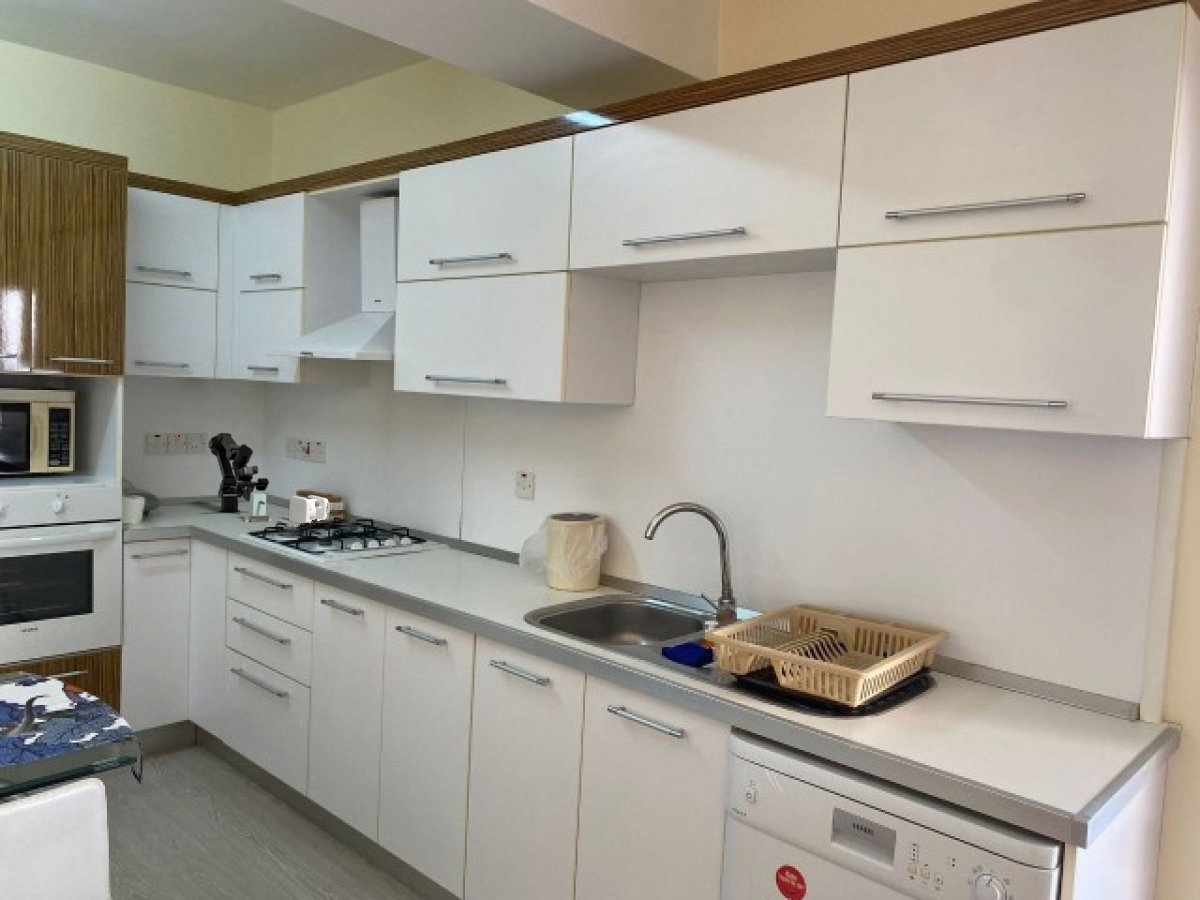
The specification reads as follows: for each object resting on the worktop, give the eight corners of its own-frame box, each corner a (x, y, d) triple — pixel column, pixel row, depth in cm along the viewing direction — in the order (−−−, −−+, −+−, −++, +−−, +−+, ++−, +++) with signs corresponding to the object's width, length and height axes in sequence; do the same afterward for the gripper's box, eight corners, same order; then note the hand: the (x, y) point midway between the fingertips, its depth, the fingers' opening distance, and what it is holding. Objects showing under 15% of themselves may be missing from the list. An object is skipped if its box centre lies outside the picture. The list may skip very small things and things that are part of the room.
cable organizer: (287, 523, 364) (288, 495, 363) (310, 521, 372) (311, 494, 371) (305, 528, 354) (306, 499, 353) (329, 526, 362) (330, 498, 361)
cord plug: (248, 520, 357) (249, 493, 357) (263, 519, 361) (264, 493, 360) (255, 523, 350) (256, 496, 350) (270, 522, 354) (271, 495, 353)
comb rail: (232, 520, 363) (233, 511, 363) (262, 518, 371) (262, 510, 370) (245, 525, 351) (245, 517, 350) (275, 524, 358) (276, 515, 358)
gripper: (222, 459, 363) (230, 489, 356) (268, 459, 375) (276, 488, 367) (216, 476, 370) (223, 505, 362) (261, 475, 382) (269, 504, 374)
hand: (248, 500), depth 366 cm, fingers closed
